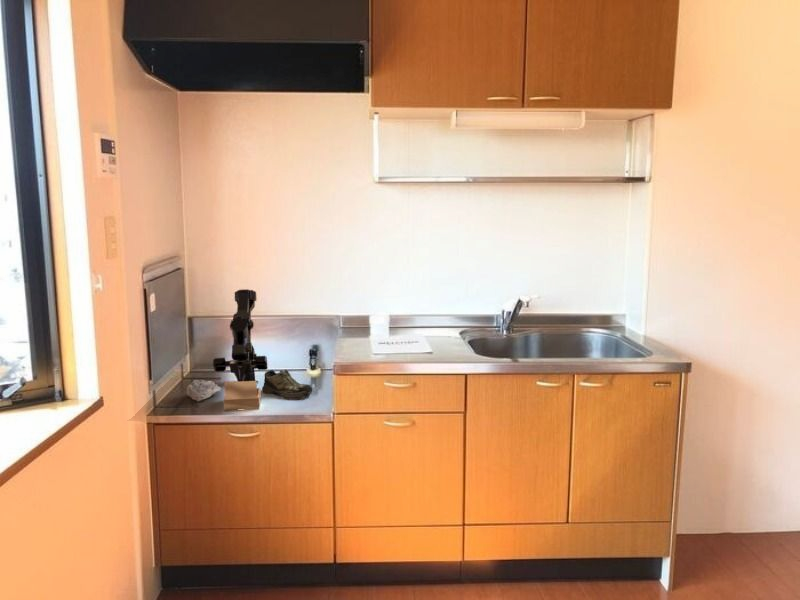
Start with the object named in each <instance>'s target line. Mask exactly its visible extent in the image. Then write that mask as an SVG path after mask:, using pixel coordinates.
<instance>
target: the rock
mask: <svg viewBox="0 0 800 600" xmlns="http://www.w3.org/2000/svg"><path fill="white" fill-rule="evenodd" d="M220 391H222V387H221V386H218V384H215V382H214V381H211V380H207V381H206V380H204V379H194V380H193V381H192V382H191V383H189V384H188V385H187V387H186V396H189V397H190V398H191V399H192V400H194V401H197V402H201V401H203V400H206V399H208V398H210V397H212V396H213V395H215V394H217V393H219V392H220Z"/></svg>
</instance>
